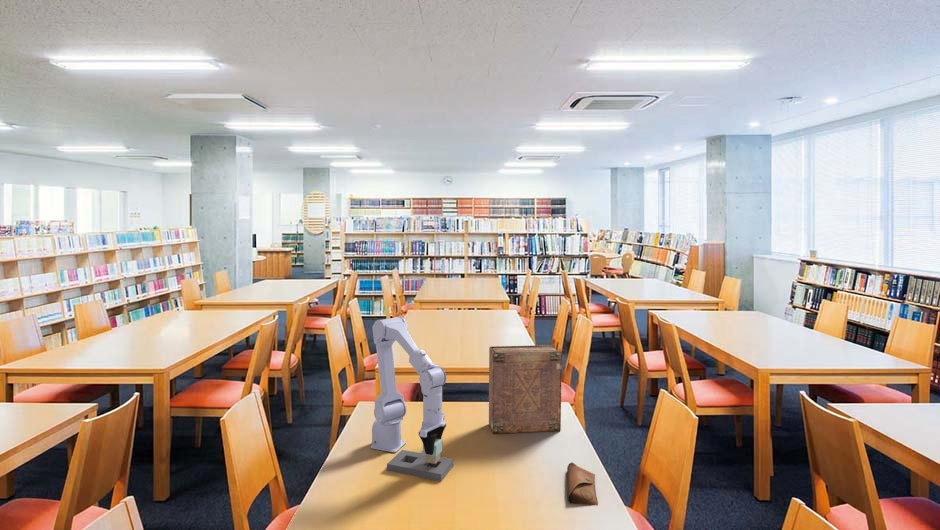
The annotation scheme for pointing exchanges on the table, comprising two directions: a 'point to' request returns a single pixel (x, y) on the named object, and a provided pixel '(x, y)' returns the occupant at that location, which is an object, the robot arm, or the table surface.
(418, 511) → the table surface
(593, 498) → the sunglasses case
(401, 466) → the grey peg board
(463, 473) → the table surface
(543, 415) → the book
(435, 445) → the plug
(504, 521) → the table surface
